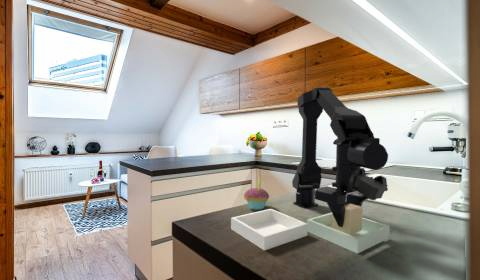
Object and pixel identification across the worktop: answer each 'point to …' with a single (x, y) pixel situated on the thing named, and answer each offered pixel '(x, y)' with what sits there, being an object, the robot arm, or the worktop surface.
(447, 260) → the worktop surface
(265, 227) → the bin
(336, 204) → the robot arm
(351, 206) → the beige plain cubic block
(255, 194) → the cupcake
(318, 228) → the bin
